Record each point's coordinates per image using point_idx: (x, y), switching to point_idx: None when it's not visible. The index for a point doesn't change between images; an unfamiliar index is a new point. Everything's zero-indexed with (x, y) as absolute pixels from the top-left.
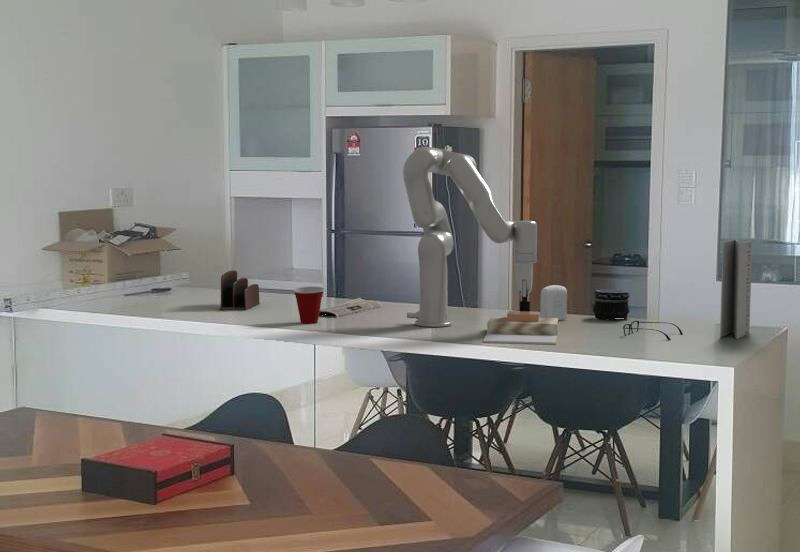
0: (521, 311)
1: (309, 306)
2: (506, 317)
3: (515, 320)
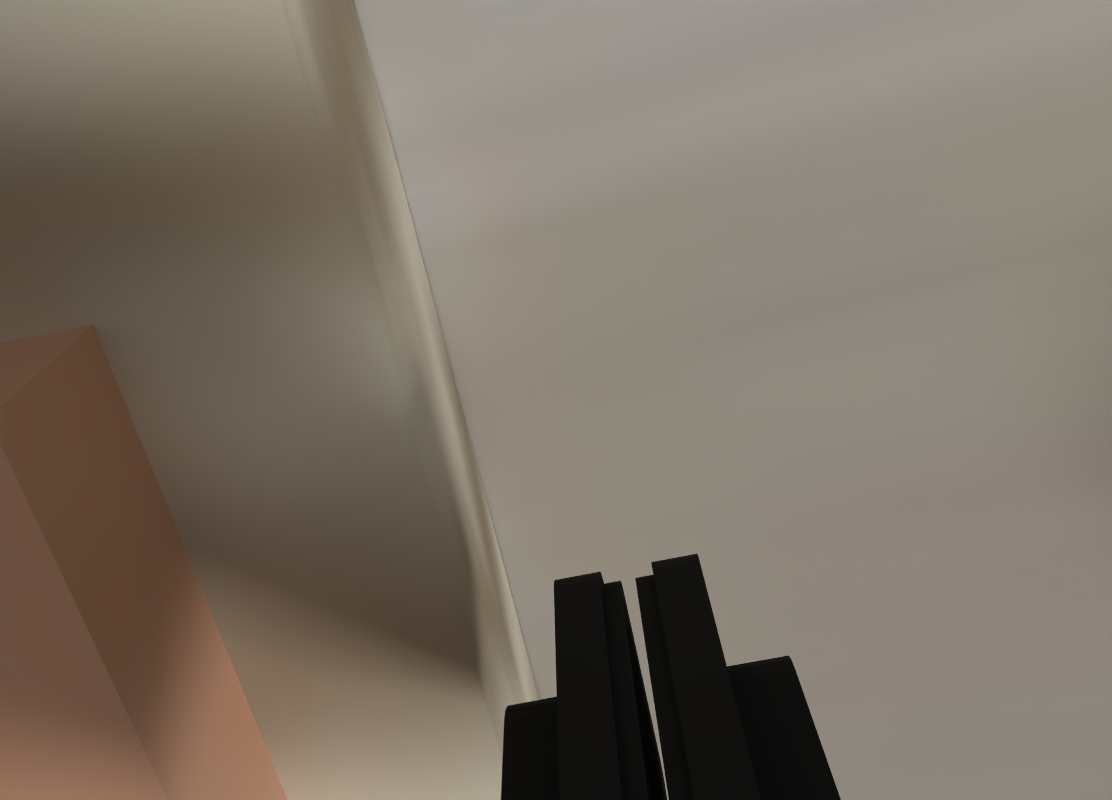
0: (132, 779)
1: None
2: (248, 215)
3: None
